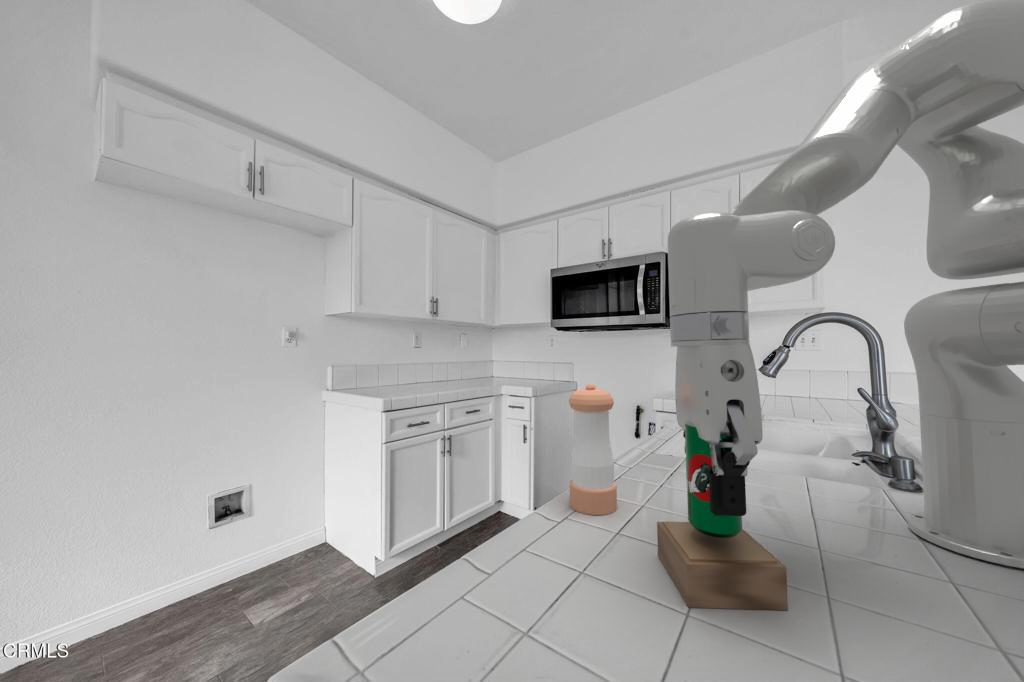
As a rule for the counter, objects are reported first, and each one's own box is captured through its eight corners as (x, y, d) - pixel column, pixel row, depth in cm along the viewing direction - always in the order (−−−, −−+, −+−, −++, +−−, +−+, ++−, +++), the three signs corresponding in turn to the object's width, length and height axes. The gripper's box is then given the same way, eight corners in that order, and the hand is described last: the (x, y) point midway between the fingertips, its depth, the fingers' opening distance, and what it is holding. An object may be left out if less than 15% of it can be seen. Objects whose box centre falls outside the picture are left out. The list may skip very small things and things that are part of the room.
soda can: (750, 542, 37) (746, 420, 37) (695, 538, 38) (691, 419, 38) (731, 519, 42) (727, 412, 42) (683, 516, 43) (679, 411, 43)
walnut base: (736, 557, 44) (735, 520, 44) (787, 610, 35) (786, 563, 35) (657, 555, 44) (656, 519, 44) (688, 607, 35) (687, 561, 35)
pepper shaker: (616, 498, 62) (614, 382, 62) (617, 517, 55) (614, 386, 55) (572, 495, 64) (570, 382, 64) (567, 512, 57) (564, 386, 57)
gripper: (799, 326, 32) (809, 544, 31) (708, 335, 49) (713, 476, 48) (708, 328, 32) (715, 542, 32) (649, 336, 49) (653, 476, 49)
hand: (714, 500), depth 40 cm, fingers closed on soda can, 5 cm apart
